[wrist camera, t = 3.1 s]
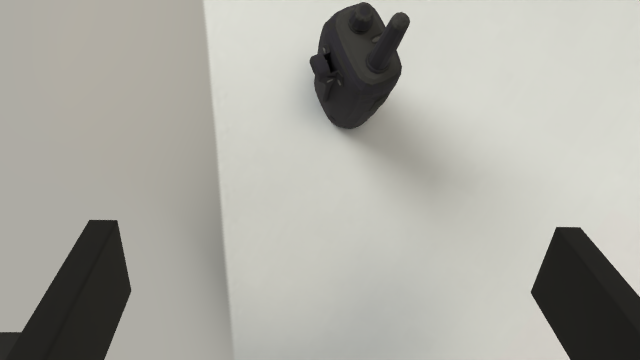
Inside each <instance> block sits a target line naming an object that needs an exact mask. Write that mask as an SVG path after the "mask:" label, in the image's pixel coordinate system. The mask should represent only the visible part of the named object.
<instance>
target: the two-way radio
mask: <svg viewBox="0 0 640 360" xmlns="http://www.w3.org/2000/svg"><path fill="white" fill-rule="evenodd" d="M409 23H410V20H409V17H408V16H407V15H406V14H405V13H402V12H400V13H396V14H395V15H393V17H392V18H391V20H390V22H389V23H388V25H387V26H386V27H385V25H384V23H383V21H382V20H381V18H380V16H379V14H378V13H377V11H376V10H375V9H374V8H373V7H372V6H371V5H370V4H368V3H365V2H362V3H359V4H356V5H353V6H350V7H346V8H344V9H343V10H341V11H339V12H337V13H335V14H334V15H333V16H332V17H331V18H330V19H329V20H328V21H327V22H326V23H325V24H324V26H323V29H322V32H321V36H320V40H319V46H318V54H317V55H314V56H312V57H311V58H310V64H311V67H312V70H313V72H314V74H315V80H314V84H315V91H316V93H317V96H318V99H319V101H320V103H321V105H322V107H323V109H324V111H325V113H326V115H327V117H328V118H329V120H330V121H331V122H332V123H333V124H335V125H336V126H338V127H345V128H350V129H351V128H354V127H358V126H360V125H361V124H363V123H364V122H365V121H367V120H368V118H370V116H372V115H373V114H374V113H375V112H376V110H377V109H378V108H379V107H380V106H381V105H382V104H383V103H384V102H385V100H386V99H387V97H388V95H389V94H390V92H391V91H392V89H393V88H394V86H395V85H396V83H397V81H398V79H399V77H400V75H401V69H402V66H401V62H400V59H399V56H398V53H397V51H396V50H397V48H398V46H399V44H400V42H401V40H402V38H403V36H404V34H405V32H406V30H407V28H408V26H409Z"/></svg>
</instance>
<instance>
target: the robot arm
mask: <svg viewBox="0 0 640 360" xmlns="http://www.w3.org/2000/svg"><path fill="white" fill-rule="evenodd" d="M130 293H131V287H130V282H129V277H128V272H127V267H126V262H125V257H124V252H123V247H122V242H121V237H120V232H119V227H118V222H117V220H89V222H88V224H87V225H86V227H85V228H84V230H83V232H82V234H81V235H80V237H79V238H78V240H77V242H76V243H75V245H74V247H73V248H72V250H71V252H70V253H69V255H68V257H67V258H66V260H65V262H64V263H63V265H62V267H61V268H60V270H59V271H58V273H57V275H56V276H55V278H54V280H53V281H52V283H51V285H50V286H49V288H48V290H47V291H46V293H45V295H44V296H43V298H42V300H41V301H40V303H39V305H38V306H37V308H36V310H35V311H34V313H33V315H32V316H31V318H30V320H29V321H28V323H27V324H26V326H25V328H24V329H23V331H22V332H20V333H19V332H18V333H17V332H2V333H1V332H0V360H104V359H105V356H106V354H107V351H108V349H109V346H110V344H111V341H112V338H113V336H114V333H115V331H116V328H117V326H118V323H119V321H120V318H121V316H122V313H123V311H124V308H125V306H126V303H127V301H128V298H129V295H130ZM531 294H532V296H533V297H534V299H535V301H536V303H537V304H538V306H539V308H540V309H541V311H542V313H543V314H544V316H545V318H546V319H547V321H548V323H549V324H550V326H551V328H552V329H553V331H554V333H555V334H556V336H557V338H558V340H559V341H560V343H561V345H562V346H563V348H564V350H565V351H566V353H567V355H568V356H569V358H570V360H640V297H639V296H638V295H637V293H636V292H635V291H634V290H633V289H632V288H631V286H630V285H629V284H628V283H627V282H626V280H625V279H624V278H623V277H622V276H621V275H620V273H619V272H618V271H617V270H616V269H615V268H614V266H613V265H612V264H611V263H610V262H609V261H608V259H607V258H606V257H605V256H604V255H603V254H602V252H601V251H600V250H599V249H598V248H597V247H596V245H595V244H594V243H593V242H592V241H591V240H590V238H589V237H588V236H587V235H586V234H585V233H584V231H583V230H582V229H581V228H578V227H556V230H555V232H554V235H553V237H552V240H551V242H550V245H549V247H548V250H547V252H546V255H545V257H544V260H543V262H542V265H541V268H540V270H539V273H538V275H537V278H536V280H535V283H534V285H533V288H532V290H531Z"/></svg>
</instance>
